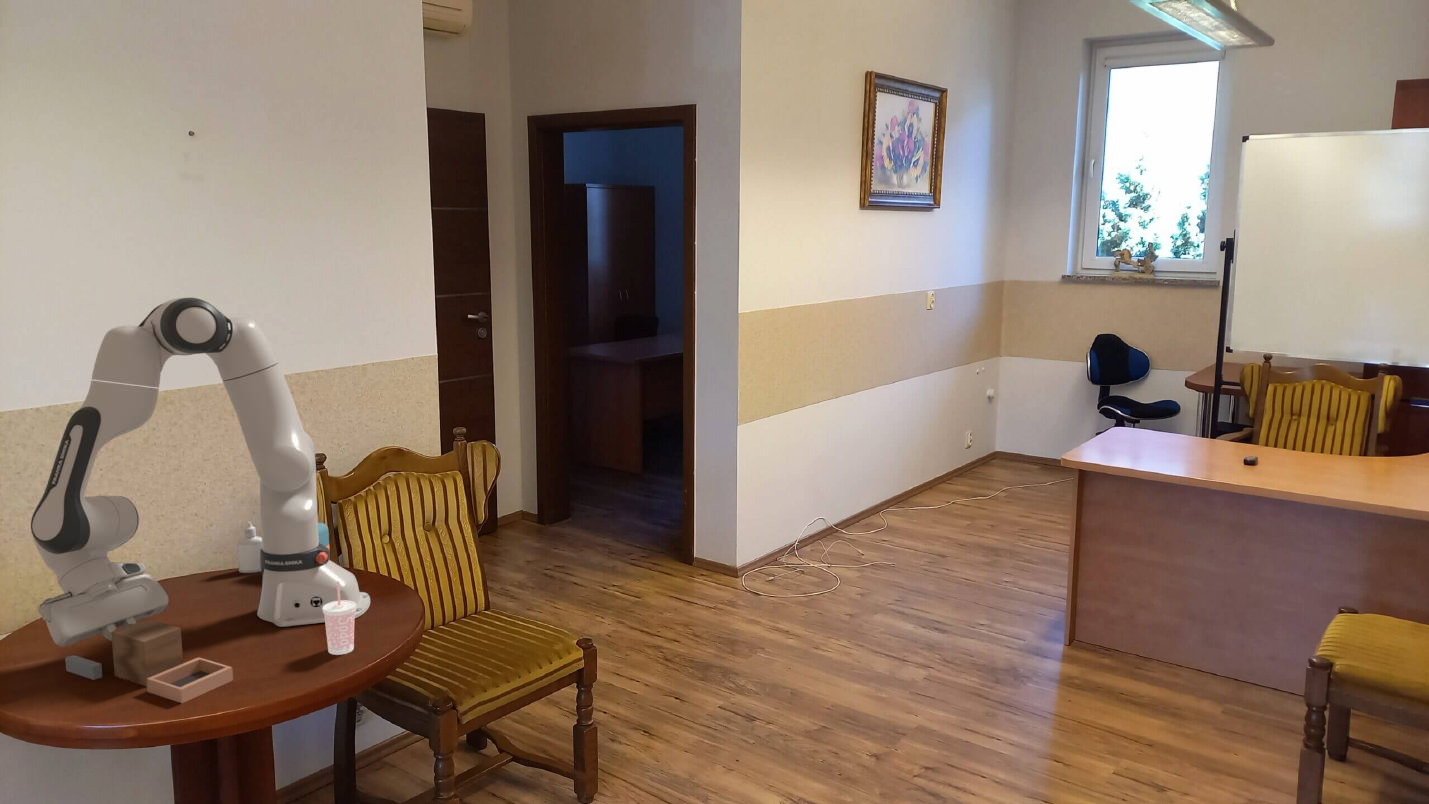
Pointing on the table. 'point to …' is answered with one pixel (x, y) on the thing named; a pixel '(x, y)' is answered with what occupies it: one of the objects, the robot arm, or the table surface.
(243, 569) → the eye dropper bottle
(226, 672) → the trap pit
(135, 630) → the walnut block
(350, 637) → the beverage cup
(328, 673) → the table surface
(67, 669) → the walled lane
